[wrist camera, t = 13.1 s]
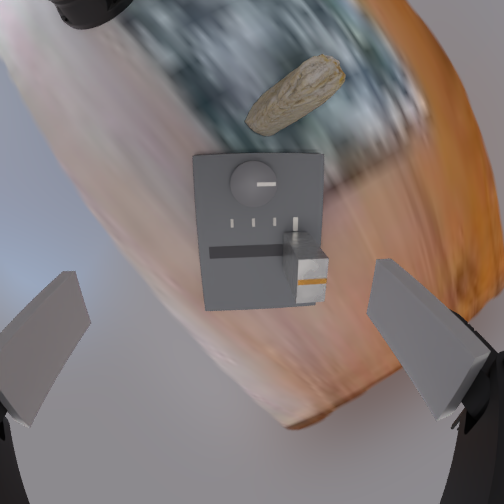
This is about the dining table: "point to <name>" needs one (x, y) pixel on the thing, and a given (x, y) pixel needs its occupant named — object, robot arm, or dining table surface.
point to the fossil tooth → (296, 95)
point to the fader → (304, 267)
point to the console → (253, 223)
